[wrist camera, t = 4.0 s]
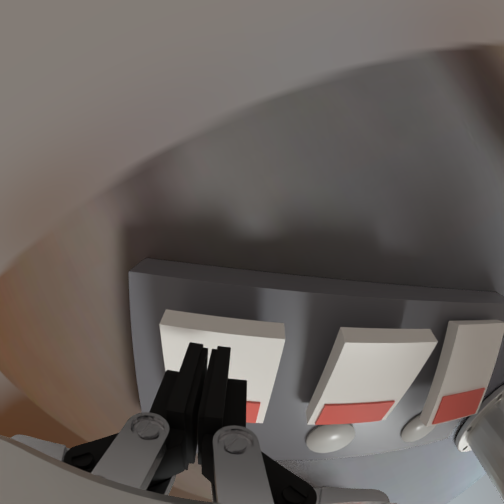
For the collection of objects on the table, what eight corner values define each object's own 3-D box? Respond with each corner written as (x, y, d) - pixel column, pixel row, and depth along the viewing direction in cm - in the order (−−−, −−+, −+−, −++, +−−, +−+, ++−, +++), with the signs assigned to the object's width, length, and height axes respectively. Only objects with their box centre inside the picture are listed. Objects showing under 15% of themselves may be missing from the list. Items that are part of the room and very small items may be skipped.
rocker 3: (496, 319, 16) (507, 323, 15) (469, 407, 17) (477, 414, 15) (448, 320, 16) (460, 325, 15) (419, 419, 16) (427, 427, 15)
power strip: (518, 293, 19) (538, 304, 16) (463, 415, 23) (475, 431, 20) (145, 257, 19) (126, 272, 16) (156, 421, 23) (147, 445, 20)
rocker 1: (284, 323, 14) (285, 341, 13) (263, 409, 18) (262, 424, 17) (165, 309, 14) (158, 326, 13) (175, 398, 18) (172, 413, 16)
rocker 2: (429, 328, 14) (439, 343, 13) (381, 407, 18) (385, 421, 17) (340, 326, 14) (345, 344, 13) (305, 410, 18) (307, 426, 17)
